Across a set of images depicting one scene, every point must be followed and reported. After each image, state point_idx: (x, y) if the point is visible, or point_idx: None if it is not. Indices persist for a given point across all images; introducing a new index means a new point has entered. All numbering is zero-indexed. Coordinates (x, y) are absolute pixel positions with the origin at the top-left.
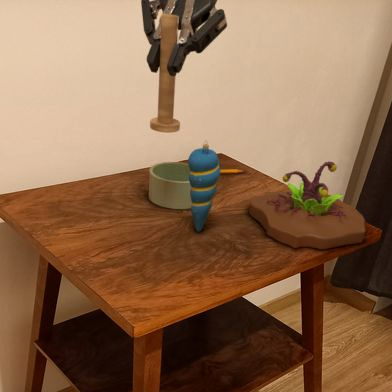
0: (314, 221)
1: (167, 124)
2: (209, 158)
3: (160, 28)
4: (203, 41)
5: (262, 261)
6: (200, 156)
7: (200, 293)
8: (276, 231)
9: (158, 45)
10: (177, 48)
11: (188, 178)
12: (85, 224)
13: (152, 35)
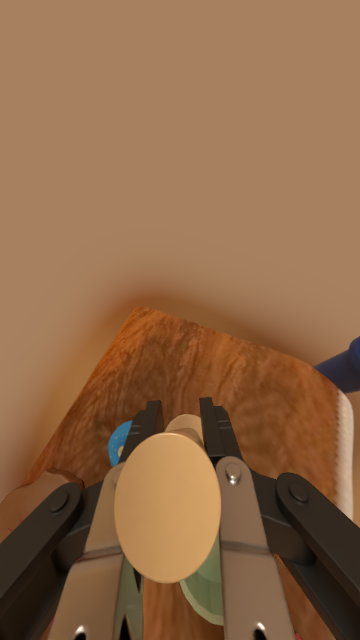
0: (15, 521)
1: (176, 427)
2: (115, 432)
3: (241, 516)
4: (38, 597)
5: (83, 417)
6: (127, 427)
7: (118, 346)
8: (68, 476)
9: (207, 439)
10: (138, 443)
11: (217, 595)
12: (238, 381)
13: (265, 489)
